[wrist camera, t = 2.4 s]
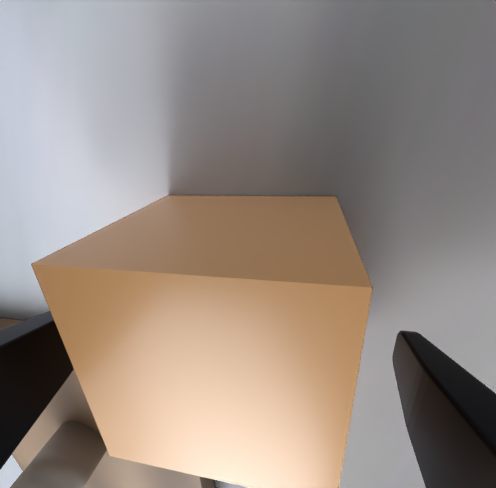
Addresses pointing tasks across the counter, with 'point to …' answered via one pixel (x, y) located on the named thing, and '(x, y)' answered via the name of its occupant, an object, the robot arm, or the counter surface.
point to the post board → (107, 464)
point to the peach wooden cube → (218, 335)
